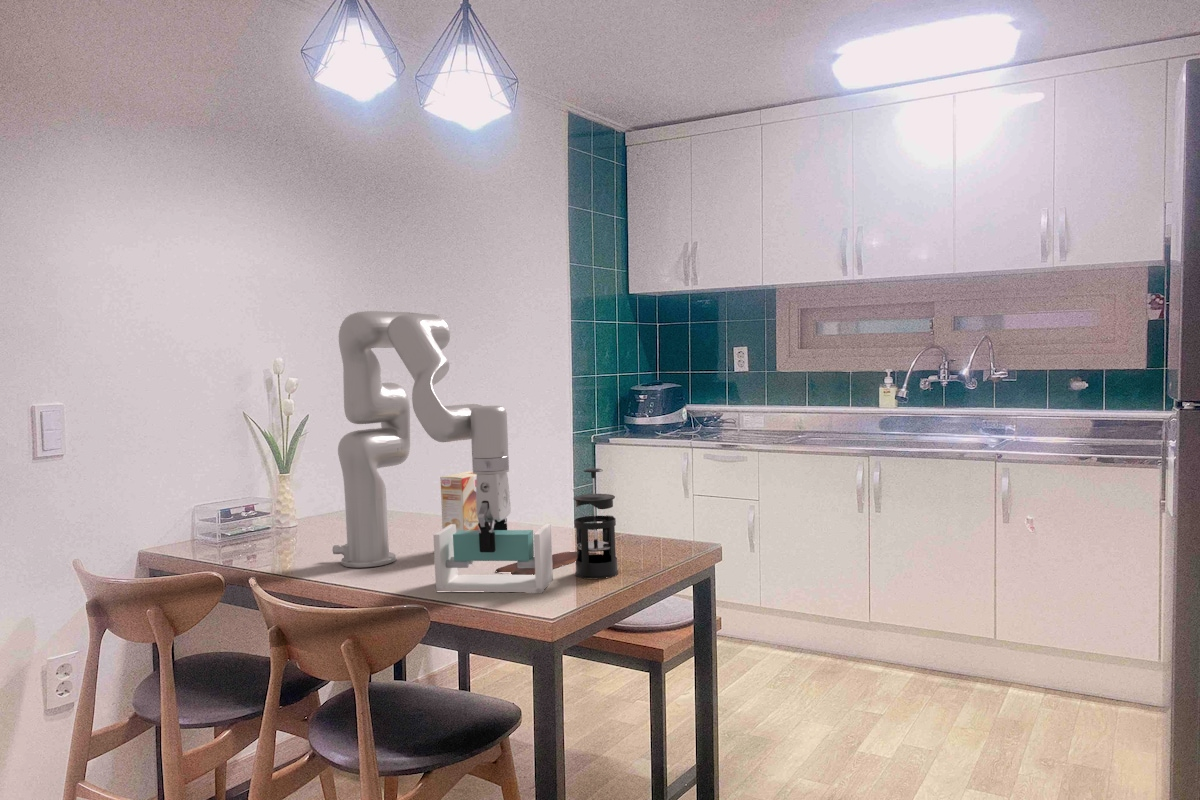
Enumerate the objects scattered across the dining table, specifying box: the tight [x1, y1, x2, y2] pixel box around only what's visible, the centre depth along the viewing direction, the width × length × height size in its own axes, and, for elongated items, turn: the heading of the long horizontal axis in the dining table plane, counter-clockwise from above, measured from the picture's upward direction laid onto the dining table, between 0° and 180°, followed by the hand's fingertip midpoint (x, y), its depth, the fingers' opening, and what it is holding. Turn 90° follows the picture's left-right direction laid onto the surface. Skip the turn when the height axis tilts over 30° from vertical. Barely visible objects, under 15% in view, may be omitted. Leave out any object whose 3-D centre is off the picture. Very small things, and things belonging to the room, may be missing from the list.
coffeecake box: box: [439, 470, 490, 532], centre depth 223 cm, size 15×7×20 cm, turn 151°
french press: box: [573, 467, 619, 579], centre depth 196 cm, size 12×9×23 cm
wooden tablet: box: [495, 551, 597, 575], centre depth 208 cm, size 26×2×10 cm
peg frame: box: [433, 523, 554, 594], centre depth 188 cm, size 22×11×12 cm, turn 81°
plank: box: [453, 529, 535, 562], centre depth 188 cm, size 16×4×6 cm, turn 81°
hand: (494, 546), depth 188 cm, fingers open, 9 cm apart
